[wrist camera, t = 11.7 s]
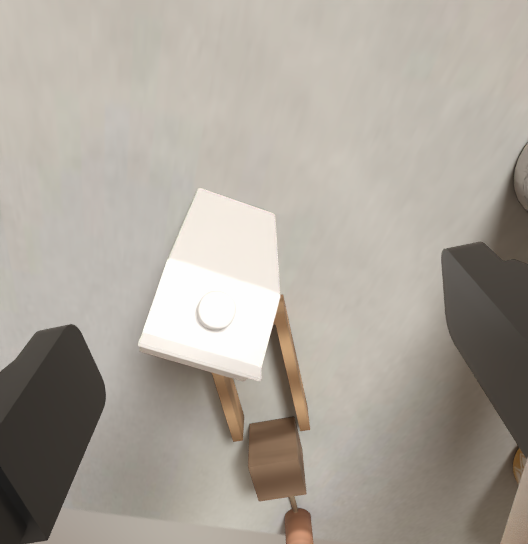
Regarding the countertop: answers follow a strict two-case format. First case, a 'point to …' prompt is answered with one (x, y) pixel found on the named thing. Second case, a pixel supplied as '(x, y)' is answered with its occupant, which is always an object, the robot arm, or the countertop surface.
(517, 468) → the planter
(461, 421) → the countertop surface
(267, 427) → the tethered walnut block
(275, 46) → the countertop surface
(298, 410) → the frame
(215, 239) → the milk carton
